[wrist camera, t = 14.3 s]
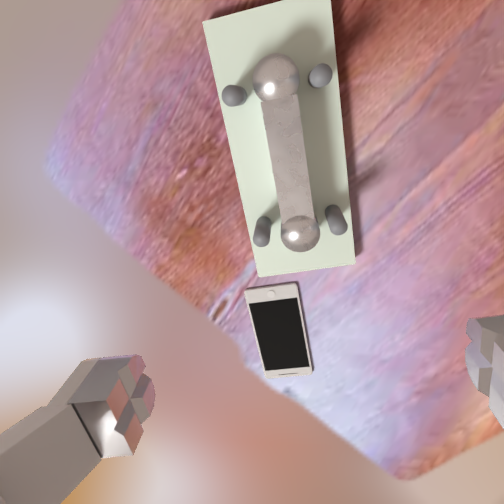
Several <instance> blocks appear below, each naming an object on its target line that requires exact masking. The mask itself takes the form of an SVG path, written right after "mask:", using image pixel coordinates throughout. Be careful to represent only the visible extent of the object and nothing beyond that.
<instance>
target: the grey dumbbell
mask: <svg viewBox="0 0 504 504" xmlns="http://www.w3.org/2000/svg"><path fill="white" fill-rule="evenodd" d="M298 86H299V71H298V68H297V66H296V64H295V63H294V61H293V60H292V59H291V58H290V57H288V56H286V55H284V54H281V53H273V54H269V55H267V56H265V57H264V58H262V59H261V60H260V61H259V62H258V64H257V65H256V67H255V70H254V73H253V88H254V91H255V93H256V95H257V96H258V97H259V99H260V100H262V101H263V102H261V108H262V114H263V119H264V125H265V131H266V136H267V142H268V147H269V153H270V159H271V164H272V170H273V175H274V181H275V187H276V192H277V198H278V203H279V209H280V215H281V240H282V242H283V244H284V245H285V246H286V247H287V248H288V249H289V250H291V251H294V252H306V251H309V250H311V249H312V248H314V247H315V246H316V244H317V243H318V241H319V239H320V228H319V224H318V220H317V216H316V214H315V212H314V211H313V204H312V196H311V189H310V182H309V175H308V167H307V160H306V153H305V146H304V139H303V131H302V124H301V117H300V110H299V103H298V95H297V94H295V93H296V91H297V89H298Z"/></svg>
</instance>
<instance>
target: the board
mask: <svg viewBox="0 0 504 504" xmlns="http://www.w3.org/2000/svg"><path fill="white" fill-rule="evenodd" d="M203 27H204V31H205V36H206V40H207V45H208V49H209V54H210V59H211V63H212V68H213V72H214V77H215V81H216V86H217V90H218V95H219V99H220V104H221V108H222V113H223V117H224V122H225V127H226V131H227V136H228V140H229V145H230V149H231V154H232V158H233V163H234V167H235V172H236V176H237V181H238V185H239V190H240V194H241V199H242V204H243V208H244V213H245V217H246V222H247V226H248V231H249V235H250V240H251V244H252V249H253V253H254V258H255V262H256V267H257V272H258V276H259V277H265V276H273V275H280V274H287V273H294V272H301V271H309V270H316V269H323V268H330V267H338V266H345V265H352V264H356V262H355V251H354V241H353V230H352V220H351V209H350V199H349V188H348V178H347V167H346V156H345V146H344V135H343V125H342V114H341V104H340V93H339V83H338V72H337V62H336V51H335V41H334V30H333V20H332V9H331V0H282V1H278V2H275V3H271V4H267V5H263V6H260V7H256V8H252V9H248V10H245V11H241V12H237V13H233V14H230V15H226V16H222V17H219V18H215V19H211V20H207V21H204V22H203ZM273 53H281V54H284V55H286V56H288V57H290V58H291V59H292V60H293V61H294V63H295V64H296V66H297V68H298V71H299V86H298V89H297V91H296V93H295V94H297V95H298V103H299V110H300V117H301V124H302V131H303V139H304V146H305V153H306V160H307V167H308V175H309V182H310V189H311V196H312V204H313V211H314V212H315V214H316V216H317V220H318V224H319V228H320V239H319V241H318V243H317V244H316V246H315V247H314V248H312V249H311V250H309V251H306V252H294V251H291V250H289V249H288V248H287V247H286V246H285V245H284V244H283V242H282V240H281V215H280V209H279V203H278V198H277V192H276V187H275V181H274V175H273V170H272V164H271V159H270V153H269V147H268V142H267V136H266V131H265V125H264V119H263V114H262V108H261V102H263V101H262V100H260V99H259V97H258V96H257V95H256V93H255V91H254V88H253V73H254V70H255V67H256V65H257V64H258V62H259V61H260V60H261V59H262V58H264V57H265V56H267V55H269V54H273Z"/></svg>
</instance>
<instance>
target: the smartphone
mask: <svg viewBox="0 0 504 504" xmlns="http://www.w3.org/2000/svg"><path fill="white" fill-rule="evenodd" d="M244 294H245V298H246V302H247V306H248V310H249V315H250V319H251V323H252V327H253V331H254V335H255V339H256V343H257V347H258V351H259V355H260V359H261V363H262V367H263V371H264V375H265V377H266V378H267V379H268V378H279V377H290V376H301V375H311V374H312V365H311V360H310V354H309V349H308V343H307V337H306V332H305V326H304V321H303V315H302V310H301V304H300V298H299V293H298V287H297V284H296V283H287V284H280V285H273V286H265V287H258V288H251V289H246V290H245V293H244Z"/></svg>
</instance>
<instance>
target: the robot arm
mask: <svg viewBox="0 0 504 504" xmlns="http://www.w3.org/2000/svg"><path fill="white" fill-rule="evenodd" d="M466 334H467V335H468V336H469V338H470V339H471V340H472V342H471V343H470V344H469V345H468V346H467V347H466V349H465V361H466V365H467V370H468V373H469V375H470V378H471V380H472V382H473V383H474V385H475V387H476V388H477V390H478V391H480V392H482V393H483V394H485V395H487V396H488V397H489V408H490V410H491V411H492V413H493V414H494V416H495V417H496V419H497V420H498V422H499V423H500V425H501V426H502V428H503V429H504V315H495V316H486V317H477V318H469V320H468V322H467V327H466ZM145 367H146V366H145V363H144V361H143V359H142V357H141V356H139V355H125V356H113V357H103V358H93V359H86V360H84V361H82V362H81V363H80V364H79V365H78V367H77V368H76V369H75V370H74V372H73V373H72V374H71V375H70V377H69V378H68V379H67V381H66V382H65V383H64V384H63V386H62V387H61V388H60V390H59V391H58V392H57V394H56V395H55V396H54V397H53V398H52V400H51V401H50V402H49V404H48V405H47V406H46V407H40V408H39V409H37V410H36V411H34V412H33V413H31V414H30V415H28V416H27V417H25V418H24V419H22V420H21V421H19V422H18V423H16V424H15V425H13V426H12V427H10V428H9V429H7V430H6V431H4V432H3V433H2V434H0V504H61V503H62V501H63V500H64V499H65V498H66V497H67V496H68V495H69V494H70V493H71V492H72V491H73V490H74V489H75V488H76V487H77V486H78V485H79V483H80V482H81V481H82V480H83V479H84V478H85V477H86V476H87V475H88V474H89V473H90V472H91V471H92V470H93V468H95V466H96V465H97V464H98V463H99V462H100V461H101V458H107V457H108V458H109V457H119V456H131V455H134V452H135V450H136V448H137V445H138V443H139V441H140V438H141V436H142V434H143V428H142V425H141V424H142V423H143V422H144V421H145V420H146V419H147V418H148V417H149V416H150V415H151V412H152V410H153V407H154V401H155V390H154V385H153V383H152V380H151V379H150V378H149V377H148V376H146V375H145V374H144V373H143V372H144V369H145Z"/></svg>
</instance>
